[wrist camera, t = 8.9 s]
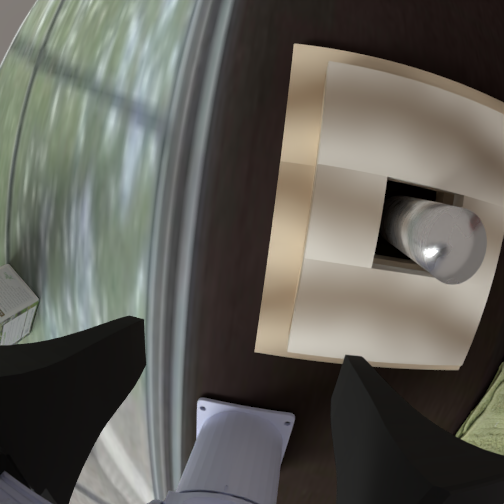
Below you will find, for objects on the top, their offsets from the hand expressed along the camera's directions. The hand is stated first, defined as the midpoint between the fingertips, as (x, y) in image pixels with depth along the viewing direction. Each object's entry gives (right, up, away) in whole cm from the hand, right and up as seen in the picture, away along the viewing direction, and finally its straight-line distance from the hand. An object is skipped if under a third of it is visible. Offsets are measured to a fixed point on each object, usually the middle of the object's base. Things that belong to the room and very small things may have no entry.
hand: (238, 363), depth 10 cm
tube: (+10, +6, +8) cm, 14 cm away
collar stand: (+10, +6, +8) cm, 14 cm away
